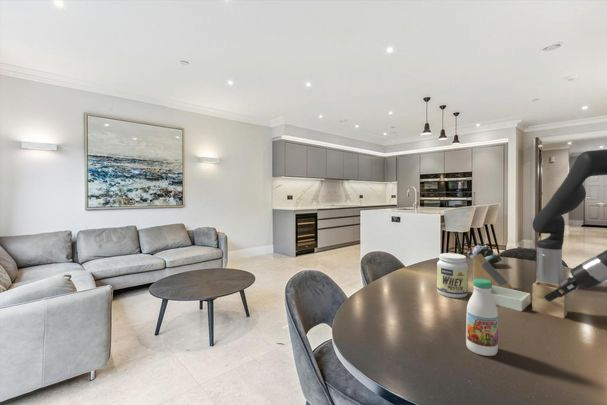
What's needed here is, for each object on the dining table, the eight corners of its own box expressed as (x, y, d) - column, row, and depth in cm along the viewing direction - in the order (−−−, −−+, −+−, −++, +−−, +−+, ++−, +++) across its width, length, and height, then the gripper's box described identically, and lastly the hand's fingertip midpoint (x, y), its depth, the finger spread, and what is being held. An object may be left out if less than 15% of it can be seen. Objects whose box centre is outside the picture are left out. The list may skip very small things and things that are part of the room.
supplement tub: (437, 296, 126) (438, 257, 125) (435, 287, 137) (435, 251, 136) (470, 300, 122) (470, 259, 121) (465, 290, 133) (465, 253, 132)
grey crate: (530, 303, 117) (530, 293, 117) (521, 311, 110) (521, 300, 110) (489, 293, 129) (489, 284, 128) (478, 300, 121) (478, 290, 121)
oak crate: (567, 313, 108) (567, 286, 107) (563, 318, 104) (564, 290, 104) (536, 306, 115) (536, 280, 114) (532, 310, 111) (532, 284, 110)
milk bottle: (460, 343, 88) (461, 276, 87) (484, 341, 89) (485, 275, 88) (477, 357, 80) (478, 285, 79) (504, 356, 81) (505, 284, 80)
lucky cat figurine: (481, 268, 168) (469, 245, 173) (472, 271, 180) (461, 250, 185) (506, 260, 168) (493, 238, 174) (496, 264, 180) (484, 242, 185)
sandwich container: (511, 296, 125) (512, 261, 125) (472, 287, 137) (473, 255, 137) (517, 292, 131) (518, 258, 130) (480, 283, 143) (480, 253, 142)
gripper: (586, 259, 106) (544, 283, 116) (579, 266, 97) (535, 291, 107) (606, 277, 103) (562, 300, 112) (601, 286, 93) (554, 310, 103)
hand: (549, 296), depth 109 cm, fingers open, 8 cm apart
